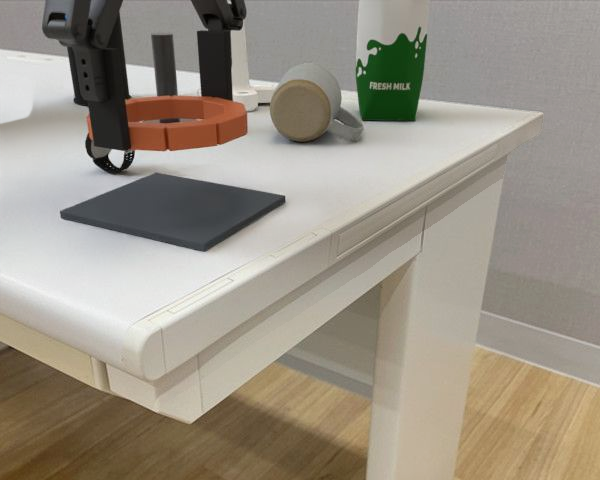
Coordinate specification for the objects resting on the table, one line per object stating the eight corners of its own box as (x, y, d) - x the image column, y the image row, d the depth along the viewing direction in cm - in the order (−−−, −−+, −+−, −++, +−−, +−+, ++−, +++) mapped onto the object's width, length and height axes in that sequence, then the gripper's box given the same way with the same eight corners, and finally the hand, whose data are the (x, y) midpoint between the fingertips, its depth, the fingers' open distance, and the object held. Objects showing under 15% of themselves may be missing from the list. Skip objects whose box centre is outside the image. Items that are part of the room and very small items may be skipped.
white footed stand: (269, 99, 94) (267, -54, 85) (285, 109, 88) (285, -56, 79) (195, 104, 91) (184, -56, 82) (207, 114, 85) (196, -57, 75)
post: (128, 135, 75) (116, 35, 69) (166, 124, 80) (157, 29, 75) (176, 143, 72) (167, 38, 67) (211, 130, 77) (206, 32, 72)
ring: (55, 138, 47) (51, 117, 46) (160, 109, 57) (158, 90, 56) (184, 160, 42) (182, 135, 42) (275, 123, 52) (274, 103, 51)
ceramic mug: (266, 143, 72) (266, 71, 68) (279, 126, 79) (279, 61, 75) (360, 148, 70) (365, 76, 67) (364, 131, 78) (369, 65, 74)
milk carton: (414, 108, 89) (428, -54, 80) (423, 123, 81) (440, -56, 72) (351, 107, 90) (358, -55, 80) (354, 122, 82) (363, -57, 72)
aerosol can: (130, 94, 98) (113, -55, 88) (132, 104, 91) (114, -56, 81) (74, 96, 96) (50, -56, 86) (72, 107, 89) (45, -57, 79)
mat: (60, 218, 51) (59, 211, 50) (156, 178, 60) (156, 172, 60) (204, 251, 45) (203, 243, 45) (285, 202, 54) (285, 195, 54)
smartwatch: (120, 162, 65) (113, 112, 62) (147, 173, 61) (141, 121, 59) (82, 170, 62) (74, 118, 60) (108, 182, 59) (100, 128, 56)
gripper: (21, -294, 28) (93, 176, 38) (286, -190, 47) (288, 105, 57) (-86, -269, 31) (7, 160, 41) (203, -181, 50) (219, 98, 61)
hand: (170, 129), depth 49 cm, fingers closed on ring, 12 cm apart
